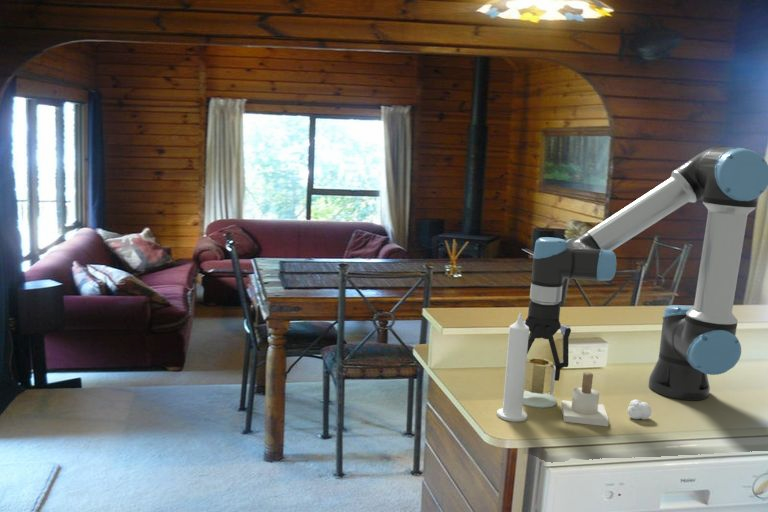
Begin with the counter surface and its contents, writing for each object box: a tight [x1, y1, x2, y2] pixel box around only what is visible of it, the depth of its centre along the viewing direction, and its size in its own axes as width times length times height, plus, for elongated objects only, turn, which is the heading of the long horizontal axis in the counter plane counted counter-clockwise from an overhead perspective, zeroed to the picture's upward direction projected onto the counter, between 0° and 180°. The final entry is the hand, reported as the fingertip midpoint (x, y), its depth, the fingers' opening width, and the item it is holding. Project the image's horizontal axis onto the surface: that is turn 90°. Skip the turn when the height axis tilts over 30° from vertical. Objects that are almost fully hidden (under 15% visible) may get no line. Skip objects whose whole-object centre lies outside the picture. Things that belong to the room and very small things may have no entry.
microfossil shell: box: [627, 399, 652, 421], centre depth 178 cm, size 4×5×6 cm
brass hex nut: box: [524, 356, 554, 394], centre depth 184 cm, size 7×7×7 cm
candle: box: [496, 312, 530, 423], centre depth 173 cm, size 7×7×25 cm
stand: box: [560, 371, 610, 427], centre depth 176 cm, size 10×10×10 cm
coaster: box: [523, 390, 558, 409], centre depth 185 cm, size 10×10×1 cm
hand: (536, 390), depth 185 cm, fingers closed on brass hex nut, 7 cm apart
